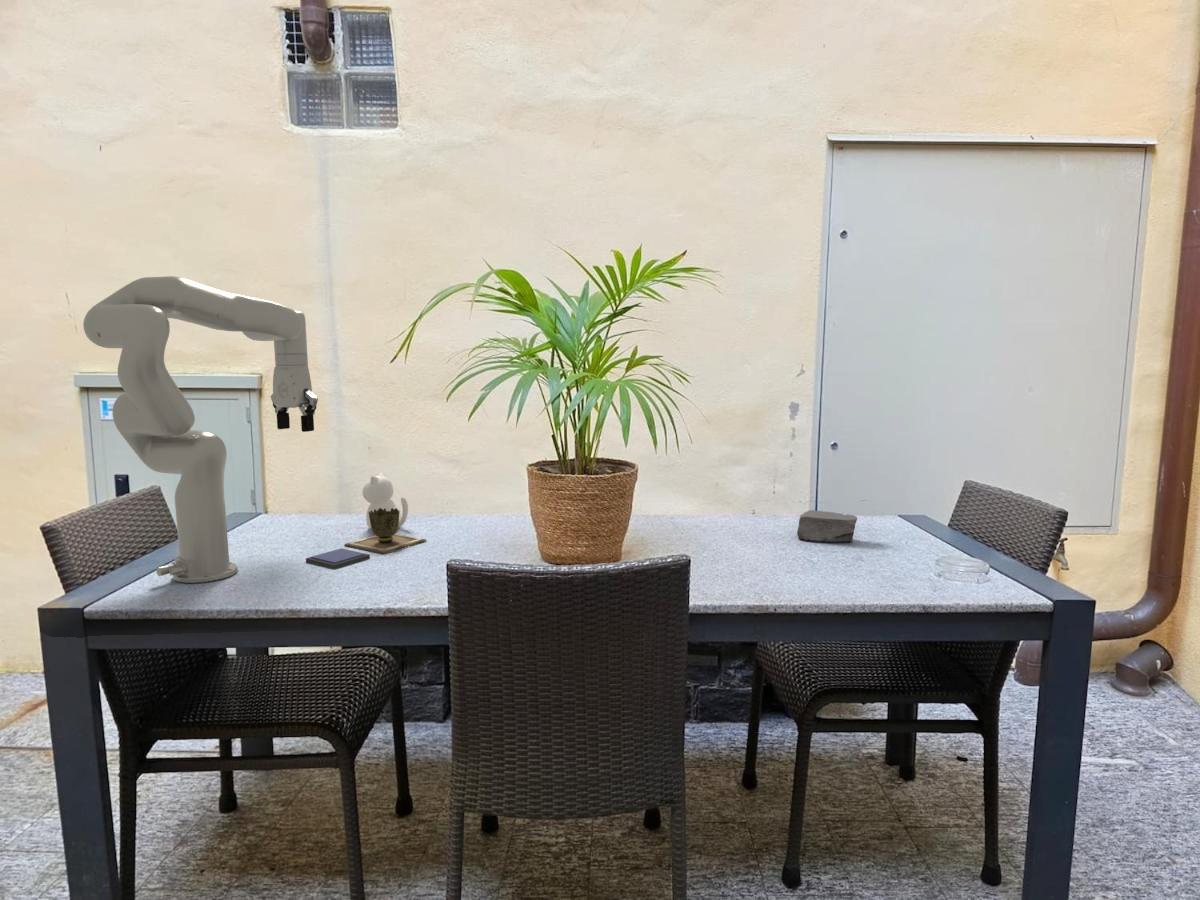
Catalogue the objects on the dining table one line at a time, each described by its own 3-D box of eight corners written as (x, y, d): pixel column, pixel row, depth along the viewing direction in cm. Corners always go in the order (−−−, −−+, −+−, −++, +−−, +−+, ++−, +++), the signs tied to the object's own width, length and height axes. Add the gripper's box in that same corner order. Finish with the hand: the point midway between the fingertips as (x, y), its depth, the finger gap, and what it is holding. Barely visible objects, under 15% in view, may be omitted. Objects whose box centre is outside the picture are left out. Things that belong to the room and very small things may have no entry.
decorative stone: (792, 535, 202) (799, 544, 192) (793, 509, 202) (800, 516, 192) (850, 537, 201) (859, 545, 191) (851, 511, 200) (861, 518, 190)
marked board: (383, 554, 184) (383, 551, 184) (344, 545, 192) (344, 543, 192) (426, 541, 196) (426, 538, 196) (388, 534, 204) (388, 531, 203)
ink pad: (334, 568, 173) (334, 563, 173) (306, 562, 178) (305, 557, 178) (369, 558, 181) (369, 553, 181) (341, 552, 186) (341, 547, 186)
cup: (405, 538, 197) (403, 507, 196) (394, 546, 190) (393, 514, 188) (376, 537, 198) (375, 507, 196) (365, 545, 190) (363, 513, 189)
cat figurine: (371, 524, 215) (369, 470, 213) (415, 525, 213) (413, 471, 211) (357, 532, 206) (355, 476, 204) (403, 533, 204) (400, 477, 202)
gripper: (256, 361, 193) (261, 429, 195) (300, 362, 184) (304, 433, 186) (283, 360, 199) (287, 426, 202) (326, 361, 190) (330, 430, 192)
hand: (295, 430), depth 194 cm, fingers open, 9 cm apart
